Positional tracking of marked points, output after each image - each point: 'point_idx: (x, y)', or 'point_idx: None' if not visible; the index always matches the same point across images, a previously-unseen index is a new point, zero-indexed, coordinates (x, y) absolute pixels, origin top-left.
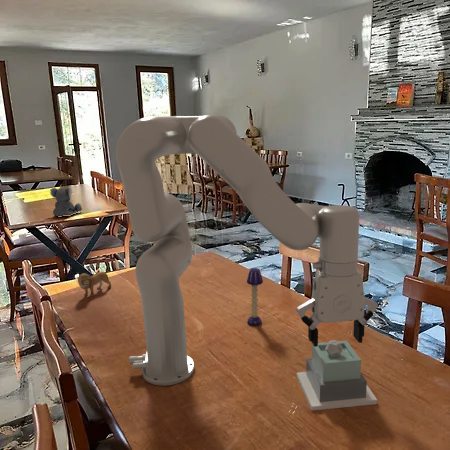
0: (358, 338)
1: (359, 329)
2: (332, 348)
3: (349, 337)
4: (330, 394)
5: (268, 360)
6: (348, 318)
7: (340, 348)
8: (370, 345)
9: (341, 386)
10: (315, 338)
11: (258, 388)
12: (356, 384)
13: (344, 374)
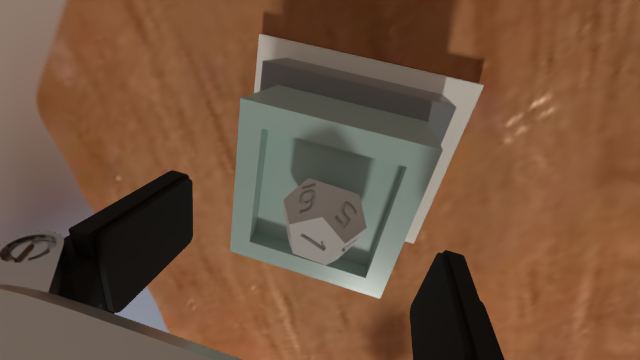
0: (176, 193)
1: (120, 223)
2: (341, 214)
3: (199, 293)
4: (406, 89)
5: None
6: (91, 357)
7: (298, 200)
8: None
9: (365, 82)
10: (473, 298)
11: (558, 240)
12: (305, 69)
13: (336, 105)
